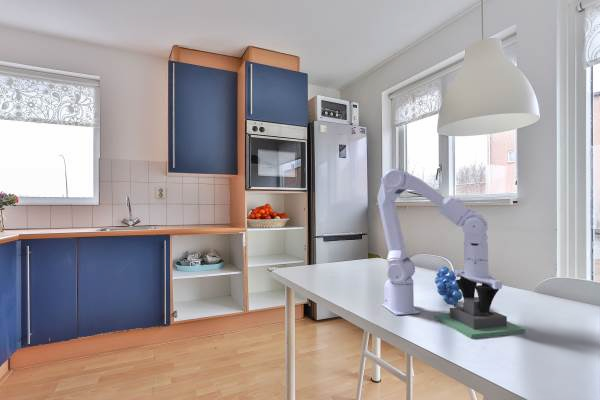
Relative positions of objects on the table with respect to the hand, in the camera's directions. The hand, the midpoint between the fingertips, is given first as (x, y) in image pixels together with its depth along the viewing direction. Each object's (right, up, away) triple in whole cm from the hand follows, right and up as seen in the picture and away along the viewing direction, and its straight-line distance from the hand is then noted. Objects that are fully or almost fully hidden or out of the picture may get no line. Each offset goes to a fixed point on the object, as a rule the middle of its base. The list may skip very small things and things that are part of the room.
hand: (476, 308), depth 82 cm
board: (0, -4, 0) cm, 4 cm away
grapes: (0, -5, +18) cm, 19 cm away
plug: (0, -4, 0) cm, 4 cm away
